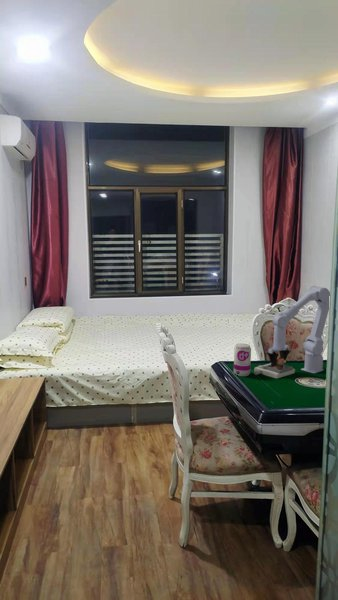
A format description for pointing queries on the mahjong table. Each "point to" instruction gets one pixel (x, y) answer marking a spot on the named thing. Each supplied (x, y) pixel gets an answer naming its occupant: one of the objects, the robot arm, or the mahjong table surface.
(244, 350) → the supplement can
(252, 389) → the mahjong table surface
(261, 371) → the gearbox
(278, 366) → the spout can
